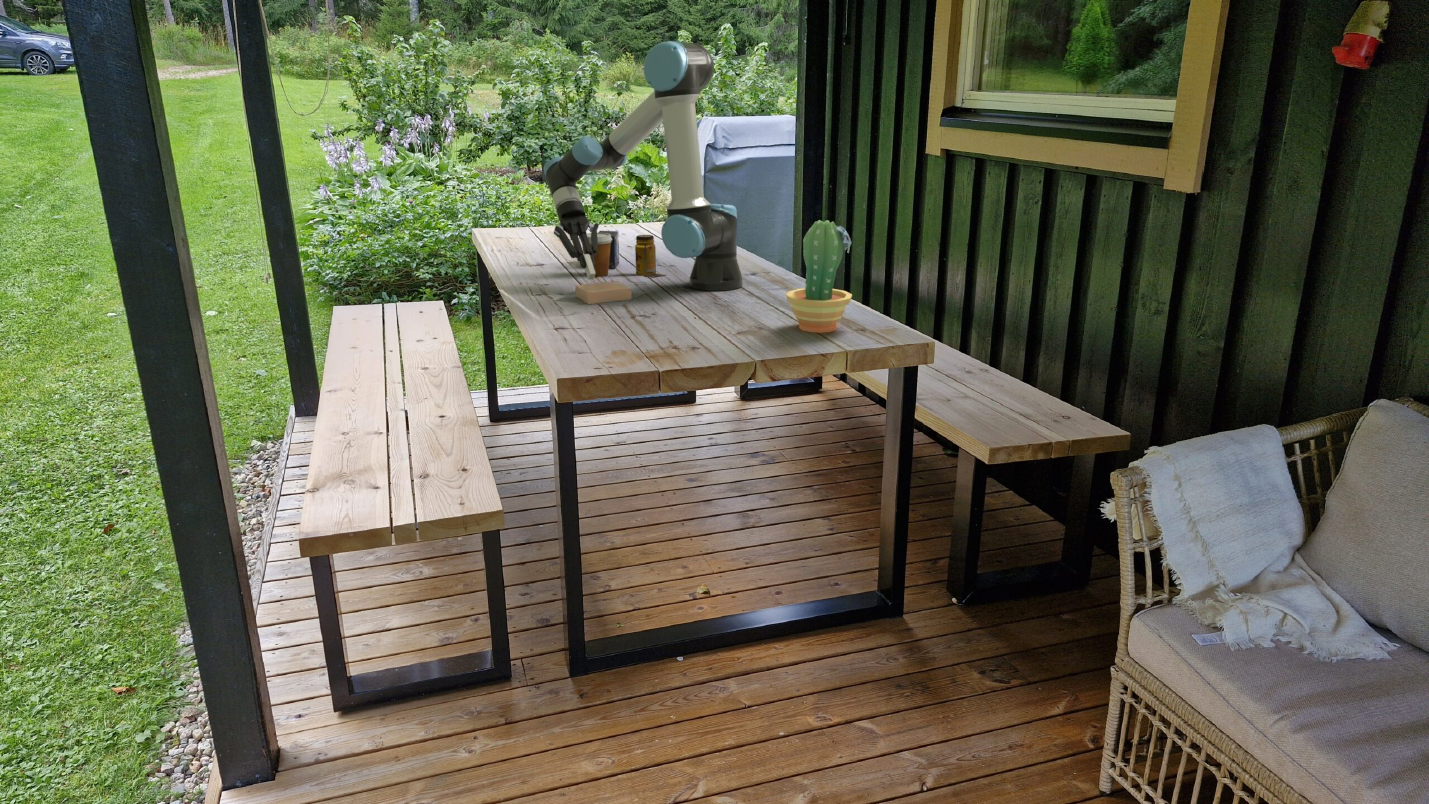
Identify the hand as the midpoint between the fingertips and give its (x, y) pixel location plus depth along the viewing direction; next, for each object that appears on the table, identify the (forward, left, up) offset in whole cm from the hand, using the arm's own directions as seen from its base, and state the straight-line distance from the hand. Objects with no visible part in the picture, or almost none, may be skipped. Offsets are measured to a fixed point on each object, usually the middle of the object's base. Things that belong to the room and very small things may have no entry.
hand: (592, 276), depth 250 cm
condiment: (-4, -30, -5) cm, 31 cm away
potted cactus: (-66, +16, -5) cm, 68 cm away
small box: (+14, -40, -5) cm, 42 cm away
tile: (-2, +2, -3) cm, 4 cm away
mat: (-4, +4, -5) cm, 8 cm away
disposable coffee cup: (+11, -26, -5) cm, 28 cm away
